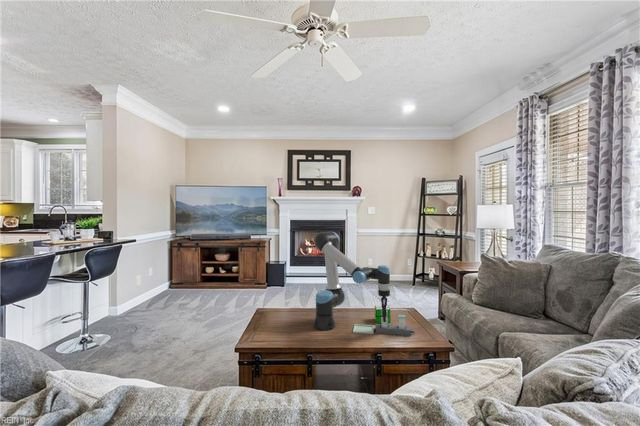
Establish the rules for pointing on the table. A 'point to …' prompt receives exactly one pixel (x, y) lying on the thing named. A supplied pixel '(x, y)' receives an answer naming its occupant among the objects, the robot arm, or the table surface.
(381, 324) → the plug
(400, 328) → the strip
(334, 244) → the robot arm
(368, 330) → the tray
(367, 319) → the table surface
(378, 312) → the puzzle cube
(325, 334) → the table surface
